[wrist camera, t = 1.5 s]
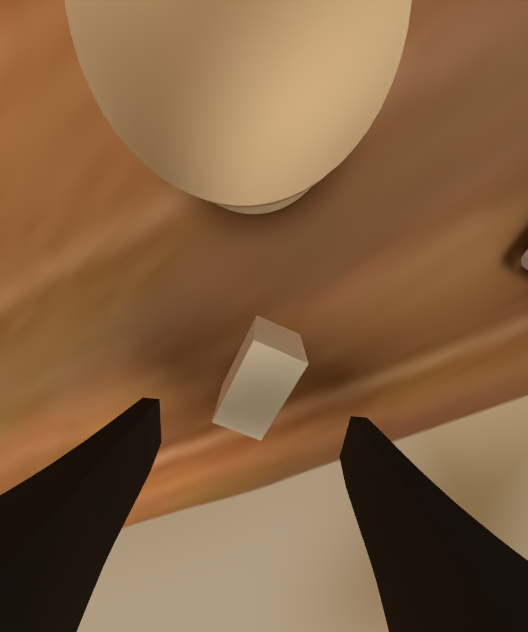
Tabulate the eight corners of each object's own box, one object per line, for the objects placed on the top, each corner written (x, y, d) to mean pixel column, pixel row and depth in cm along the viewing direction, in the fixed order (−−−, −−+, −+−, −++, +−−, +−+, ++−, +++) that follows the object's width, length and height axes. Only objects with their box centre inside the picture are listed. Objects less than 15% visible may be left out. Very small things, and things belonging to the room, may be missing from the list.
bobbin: (371, 71, 10) (492, -109, 4) (288, 240, 12) (306, 252, 7) (203, -36, 9) (108, -424, 4) (147, 169, 11) (37, 117, 6)
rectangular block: (299, 333, 14) (308, 363, 11) (262, 398, 15) (261, 440, 12) (256, 314, 13) (253, 340, 10) (222, 382, 15) (211, 422, 12)
